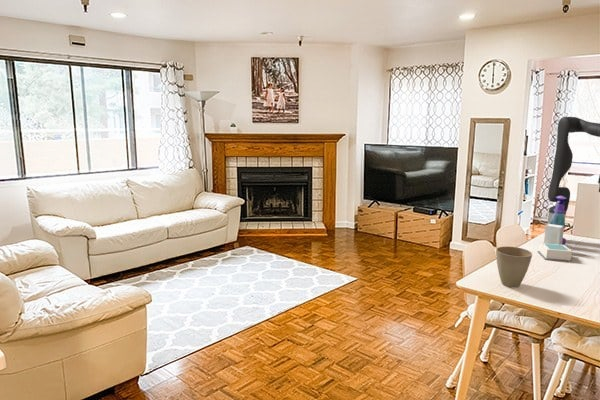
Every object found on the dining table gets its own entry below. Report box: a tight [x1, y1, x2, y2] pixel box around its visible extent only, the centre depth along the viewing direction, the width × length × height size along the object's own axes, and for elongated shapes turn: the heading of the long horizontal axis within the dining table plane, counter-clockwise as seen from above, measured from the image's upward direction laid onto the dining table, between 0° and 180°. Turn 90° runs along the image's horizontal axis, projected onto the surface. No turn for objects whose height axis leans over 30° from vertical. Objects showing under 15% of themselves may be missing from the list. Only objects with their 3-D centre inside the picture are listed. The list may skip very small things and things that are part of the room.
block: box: [539, 242, 573, 261], centre depth 245 cm, size 12×5×12 cm
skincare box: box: [543, 223, 565, 245], centre depth 256 cm, size 8×6×15 cm
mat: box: [537, 250, 570, 263], centre depth 245 cm, size 14×11×1 cm
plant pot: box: [495, 245, 533, 288], centre depth 203 cm, size 15×15×16 cm
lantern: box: [550, 196, 567, 246], centre depth 265 cm, size 13×12×30 cm
